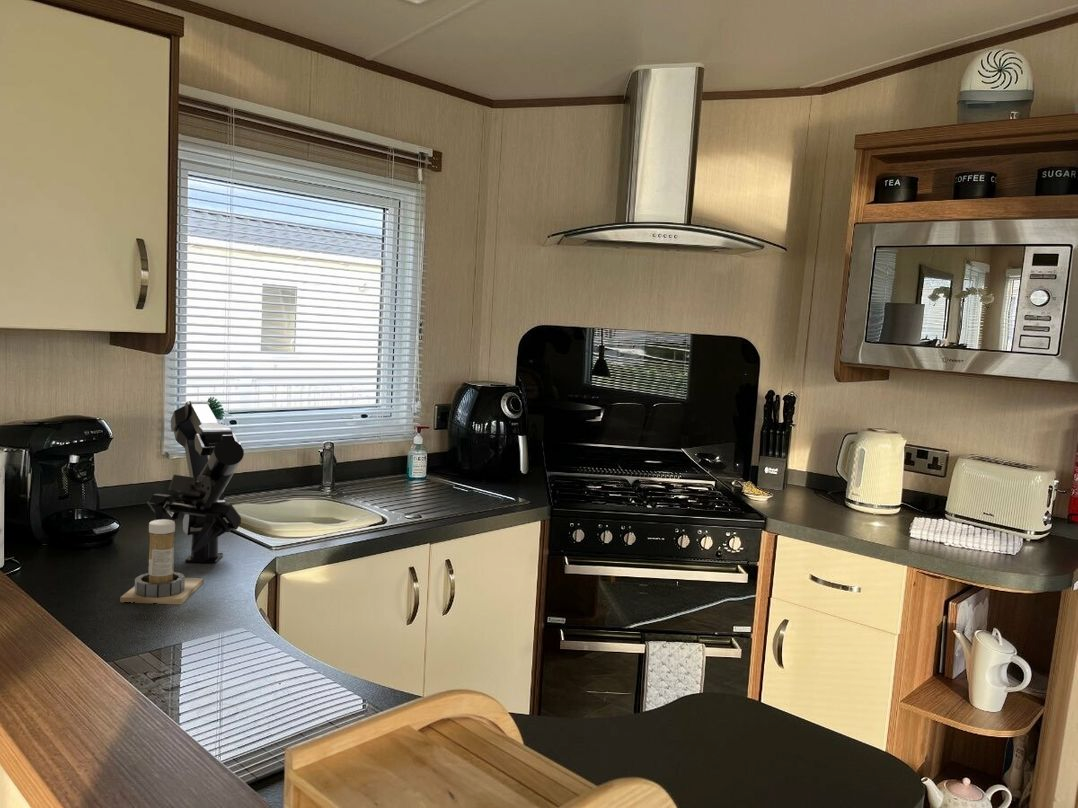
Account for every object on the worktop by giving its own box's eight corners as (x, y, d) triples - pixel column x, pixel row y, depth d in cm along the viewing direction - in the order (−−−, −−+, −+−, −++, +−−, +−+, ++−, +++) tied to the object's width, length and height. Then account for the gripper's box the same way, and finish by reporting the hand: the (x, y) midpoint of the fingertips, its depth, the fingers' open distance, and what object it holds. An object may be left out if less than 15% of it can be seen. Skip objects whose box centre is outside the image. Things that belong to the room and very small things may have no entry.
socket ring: (145, 583, 167) (145, 570, 166) (190, 584, 167) (190, 572, 167) (127, 596, 158) (128, 583, 158) (174, 598, 159) (175, 585, 159)
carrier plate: (147, 581, 171) (147, 571, 171) (203, 583, 172) (203, 573, 171) (120, 602, 158) (120, 591, 158) (181, 604, 159) (181, 594, 159)
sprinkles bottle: (152, 586, 165) (153, 518, 164) (176, 586, 165) (178, 519, 164) (144, 593, 160) (145, 523, 159) (169, 594, 161) (171, 524, 160)
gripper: (155, 454, 172) (112, 518, 162) (234, 464, 167) (194, 531, 157) (180, 486, 180) (141, 549, 171) (256, 496, 175) (221, 562, 166)
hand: (173, 547), depth 166 cm, fingers open, 9 cm apart
